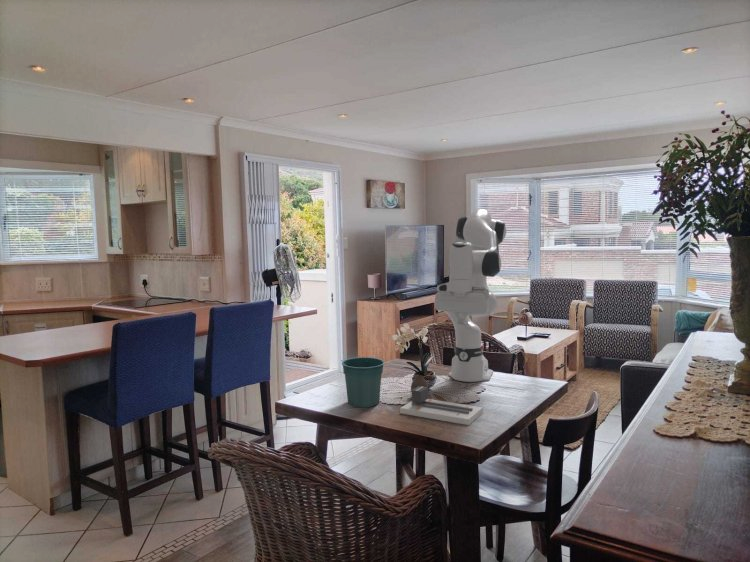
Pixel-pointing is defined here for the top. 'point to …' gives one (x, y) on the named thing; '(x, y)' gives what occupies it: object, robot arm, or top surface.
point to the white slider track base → (443, 411)
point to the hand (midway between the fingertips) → (461, 324)
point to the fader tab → (419, 394)
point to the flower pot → (363, 380)
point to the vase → (418, 382)
